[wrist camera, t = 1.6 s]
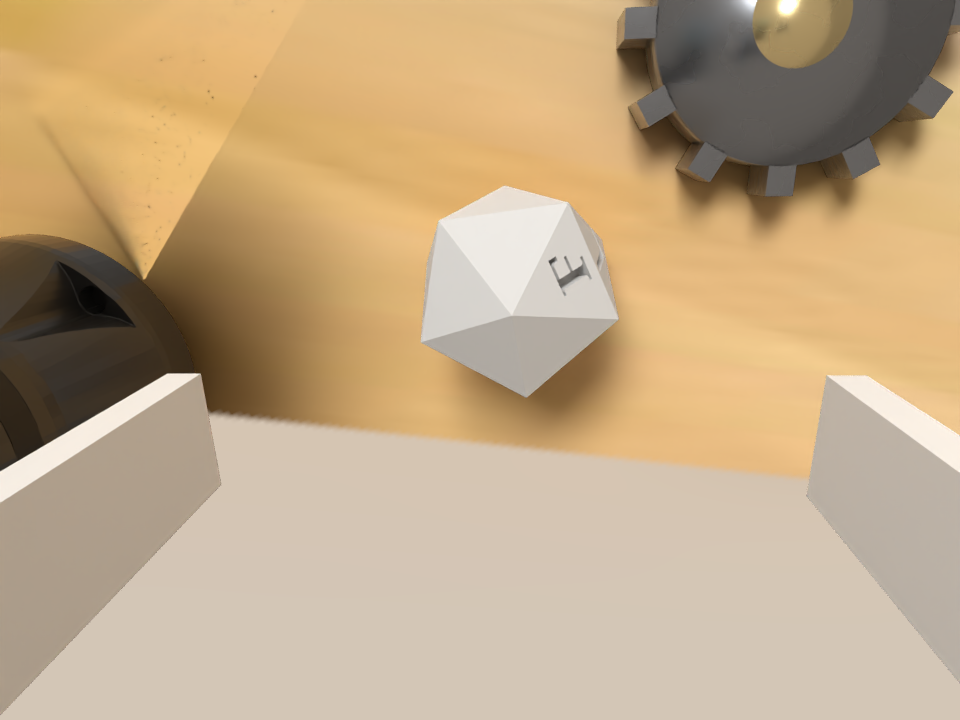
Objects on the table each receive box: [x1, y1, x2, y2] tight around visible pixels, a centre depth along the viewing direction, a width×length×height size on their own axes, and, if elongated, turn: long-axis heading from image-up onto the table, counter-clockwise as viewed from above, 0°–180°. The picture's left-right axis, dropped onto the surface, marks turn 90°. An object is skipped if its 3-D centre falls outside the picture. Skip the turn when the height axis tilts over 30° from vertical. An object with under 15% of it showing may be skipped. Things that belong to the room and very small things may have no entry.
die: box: [421, 186, 619, 398], centre depth 27 cm, size 8×9×10 cm
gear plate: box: [616, 0, 960, 196], centre depth 26 cm, size 15×15×2 cm
